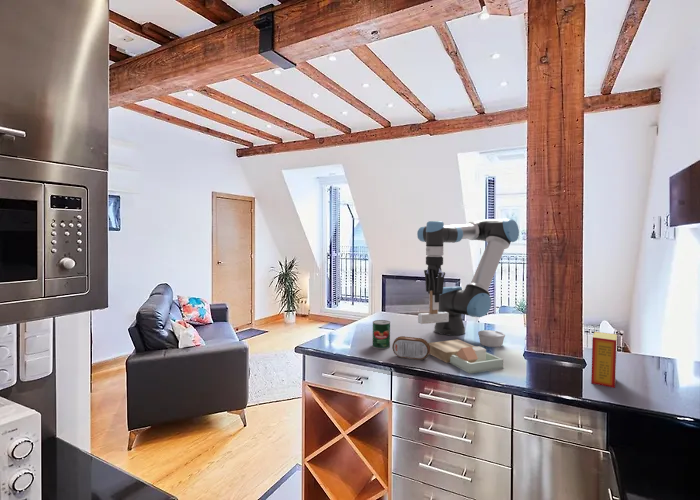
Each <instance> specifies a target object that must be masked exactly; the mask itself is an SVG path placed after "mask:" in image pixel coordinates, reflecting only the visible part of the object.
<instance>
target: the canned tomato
mask: <svg viewBox="0 0 700 500" xmlns="http://www.w3.org/2000/svg"><path fill="white" fill-rule="evenodd" d="M390 347H391V321H389V320H385V319H377V320H373V321H372V348H373V349H379V350H385V349H389V348H390Z"/></svg>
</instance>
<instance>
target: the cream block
mask: <svg viewBox="0 0 700 500" xmlns="http://www.w3.org/2000/svg"><path fill="white" fill-rule="evenodd" d="M472 348H473V350H474V352H475V354H476V355H477V357H478V359H477V360H476V361H475V362H480V361H486V352H487V349H486V348H485V347H482V346H478V345H477V346H475V347H472Z"/></svg>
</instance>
